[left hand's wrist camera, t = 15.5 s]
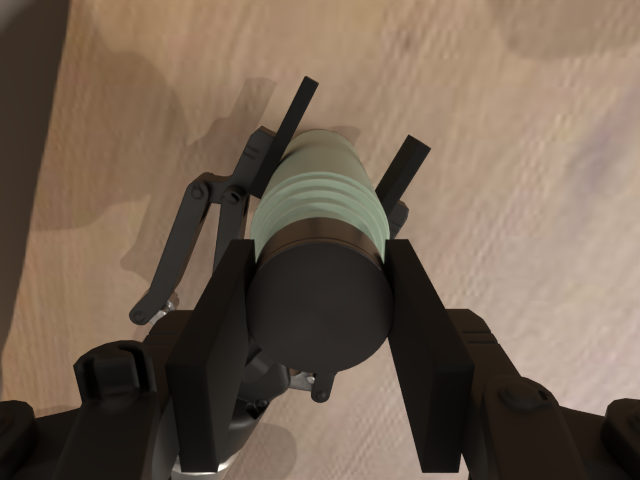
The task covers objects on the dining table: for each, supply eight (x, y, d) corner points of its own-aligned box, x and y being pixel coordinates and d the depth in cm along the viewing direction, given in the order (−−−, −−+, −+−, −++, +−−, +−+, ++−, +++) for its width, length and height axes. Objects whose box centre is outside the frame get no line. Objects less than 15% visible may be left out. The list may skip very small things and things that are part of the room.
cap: (303, 189, 13) (300, 211, 11) (411, 264, 14) (426, 296, 12) (230, 291, 15) (216, 327, 13) (333, 353, 16) (336, 396, 13)
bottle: (337, 113, 29) (363, 175, 11) (374, 187, 31) (446, 338, 13) (264, 154, 30) (184, 269, 12) (304, 223, 32) (284, 408, 14)
